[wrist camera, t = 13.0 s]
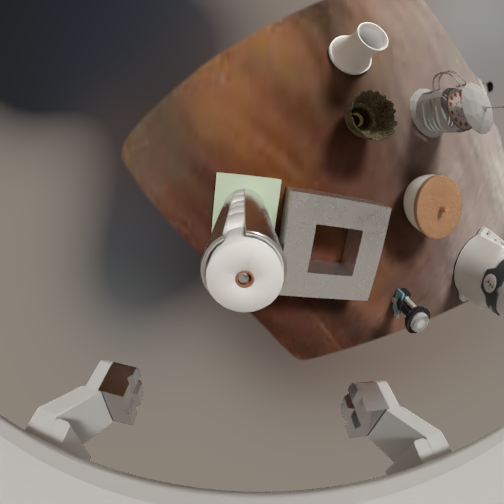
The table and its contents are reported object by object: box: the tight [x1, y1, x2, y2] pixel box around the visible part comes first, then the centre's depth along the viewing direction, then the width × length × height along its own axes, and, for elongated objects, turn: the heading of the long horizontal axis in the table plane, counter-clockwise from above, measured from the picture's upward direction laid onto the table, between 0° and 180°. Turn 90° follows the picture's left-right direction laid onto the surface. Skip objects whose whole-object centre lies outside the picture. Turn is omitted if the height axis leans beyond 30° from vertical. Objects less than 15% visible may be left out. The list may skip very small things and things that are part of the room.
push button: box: [392, 288, 430, 333], centre depth 46 cm, size 7×5×10 cm
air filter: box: [200, 188, 287, 312], centre depth 31 cm, size 6×6×25 cm
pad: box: [211, 172, 282, 233], centre depth 43 cm, size 10×10×1 cm
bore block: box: [278, 186, 392, 301], centre depth 43 cm, size 16×16×6 cm
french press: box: [410, 70, 504, 138], centre depth 26 cm, size 10×12×25 cm
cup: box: [344, 90, 397, 141], centre depth 35 cm, size 8×7×8 cm
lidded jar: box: [403, 175, 461, 239], centre depth 39 cm, size 11×11×9 cm
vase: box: [329, 22, 388, 75], centre depth 30 cm, size 8×8×10 cm
